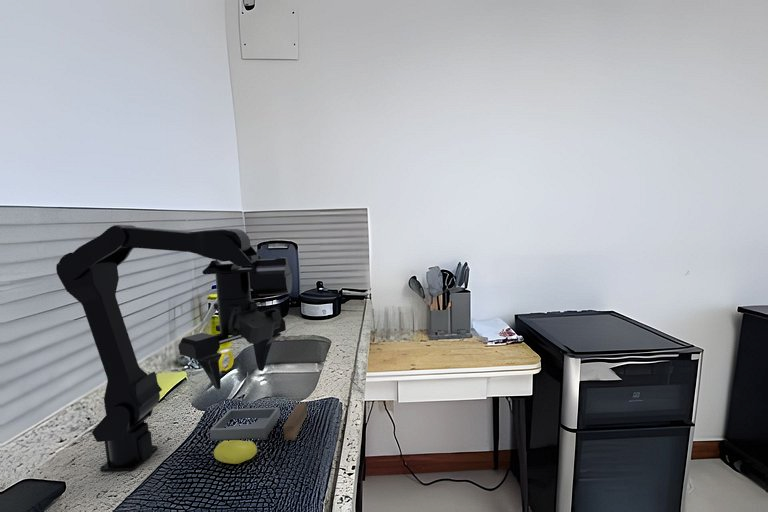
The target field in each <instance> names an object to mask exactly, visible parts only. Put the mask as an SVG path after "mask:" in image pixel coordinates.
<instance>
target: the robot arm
mask: <svg viewBox="0 0 768 512" xmlns="http://www.w3.org/2000/svg"><path fill="white" fill-rule="evenodd" d="M133 249H146V250H158V251H173V252H174V251H175V252H185V253H193V254H196V255H198V256H201V257H204V258H206V259H207V258H208V259H212V261H210V263H209V264H208V265H207V266H206V267H205V268H204V269H203V270H202V274H203V275H215V285H216V297H217V302H216V303H213V310H217V311H218V323H219V324H217V325H215V331H216V332H219V333H217V334H209V333H204V332H199V333H196V334H192V335H188V336H184V337H182V338H181V340H180V342H179V344H178V353H179V355H180V356H185V357H187V358H190V359H193V360H196V362H197V363H198V364H199V365H200V367H201V368H202V369H203V371H204V372H205V374H206V376H207V377H208V379H209V381H210V382H211V384H212V385H213V387H214V389H215V390H221V384H222V380H221V370H220V369H219V359H220V357H221V355H222V354H220V352H218V351H219V350H220V348H221V345H224V344H227V343H229V342H233V341H235V340H236V341H237V340H239V339H240V340H241V339H242V338H243V339H245V340H246V342H247V343H249V344H250V345H252V344H253V350H254V356H255V362H256V366H257V369H258V371H259V372H263V371H264V370H265V367H266V363H267V360H268V356H269V353H270V349H271V346H272V344H273V342H275V340H276V339H277V338H279V337H281V335H282V333H283V332H285V331H286V330H287V328H286V327H287V324H286V321H285V319H284V318H283V317H282V316H281V310H279V309H277V308H276V307H274V308H271V309H267V310H264V311H259V310H258V309H259V308H258V304H257V301H256V300H252V295H251V290H252V292H253V293H256V294H257V295H258V296H271V295H272V296H273V295H288V294H291V293H292V290H293V274H292V272H291V268H290V265H289V260H288V259H289V258H288V257H286V256H285V257H283V256H282V257H278V258H267V259H266V258H265V259H263V258H262V257H261V255H260V254H259V252H257V251H256V250H255V248H254V247H253V246H252V245H251V240H250V237H249V235H248V234H247V233H246V232H245V231H243V230H242V229H239V228H217V229H216V228H215V229H208V230H207V229H206V230H198V231H197V230H196V231H191V230H178V229H177V230H175V229H164V228H163V229H162V228H151V227H141V226H140V227H139V226H135V225H132V224H130V225H129V224H128V225H127V224H114V225H112V226H110V227H109V228H107V229H106V230H105V231H104V232H103V233H102V234H100V235H98V236H96V237H95V238H92V239H91V240H89V241H88V242H87V241H86V243H84V244H82V245H80V246H79V247H78V248H76V249H75V250H74V251H72V252H68V253H66V254H64V255H63V256H61V258H60V260H59V261H58V263H56V267H55V270H56V275H57V276H58V278H59V280H60V282H61V284H62V285H63V287H64V289H65V291H66V292H67V293H68V295H71V297H73V298H74V299H75V300H77V301H78V302H79V303H80V305H81V306H82V308H83V309H82V310H83V312H84V314H85V316H86V320H87V323H88V326H89V330H90V332H91V335H92V337H93V341H94V343H95V347H96V349H97V353H98V356H99V358H100V361H101V364H102V367H103V370H104V373H105V376H106V381H107V382H106V386H105V391H104V397H103V402H104V403H103V404H104V411H105V416H104V417H103V418H102V419H101V421H100V422H99V423H98V424H97V425H96V426H95V427H94V429H92V430H91V434H92V435H93V438H94V439H95V441H96V442H97V443H100V442H101V443H104V447H105V455H106V462H105V463H104V464H103V465H102V466H100V467H99V470H100V471H101V472H102V471H103V472H107V471H108V472H111V471H112V472H113V471H114V472H115V471H133V470H136V469H137V467H139V466H140V465H141V464H142V463H144V461H145V460H146V459H148V458H149V457H150V456H151V455H152V454H153V453H154V452H156V451H157V450H158V445H153V441H152V440H153V439H152V434H151V433H152V431H150V430H149V423H148V422H145V420H147V419H148V418H149V417H151V416H152V415H153V411H154V408H155V407H156V406H157V405H158V403H159V402H160V399H161V394H160V393H161V392H162V390H163V389H162V388H161V386H160V384H159V383H158V378H157V377H158V375H157V374H156V371H152V372H149V373H147V372H146V371H144V370H143V369H142V368H140V366H139V362H138V360H137V358H136V353H135V350H134V348H133V345H132V342H131V339H130V336H129V333H128V330H127V327H126V323H125V320H124V318H123V314H122V312H121V309H120V306H119V303H118V302H119V301H118V300H117V299H118V298H117V296H116V295H117V294H116V293H117V290H118V289H117V288H118V286H119V285H118V284H119V281H120V277H119V271H118V269H119V268H118V267H119V266H120V265H122V264H123V262H125V261H126V259H128V257H129V256H130V254H131V252H132V251H133ZM221 262H231V263H221ZM250 266H251V267H250Z"/></svg>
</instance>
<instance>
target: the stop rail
mask: <svg viewBox="0 0 768 512" xmlns="http://www.w3.org/2000/svg"><path fill="white" fill-rule="evenodd" d="M307 406H308V405H307V403H306V402H305V403H301V402H300V403H296V405H295V406H294V409H293V410H292V411H291V413H290V415H289V416H288V418H287V420H285V423H284V424H283V426H282V427H283V439H284V441H285V440H295V441H296V439H297V438H296V436H297V434H298V432H299V431H300V432H301V430H300V428H301V427H302V428H303V426H302V424H303V422H304V420H305V418H306V416H307V415H308V407H307ZM304 423H305V422H304ZM303 425H304V424H303ZM302 428H301V429H302ZM300 432H299V433H300ZM298 435H299V434H298ZM297 437H298V436H297ZM295 438H296V439H295Z"/></svg>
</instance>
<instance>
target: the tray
mask: <svg viewBox="0 0 768 512" xmlns="http://www.w3.org/2000/svg"><path fill="white" fill-rule="evenodd" d="M280 409H281V408H280V407H261V408H259V407H256V408H254V407H253V408H234V409H233V408H231V409H229V410H228V411H227V412H225V414H223V416H222V417H220V419H219V420H218V421H217V422H215V424H214V425H213V426H212V427H211V428H210V429H209V430H208V431H209V439H210V442H211V441H216V440H217V441H222V440H223V441H224V440H240V439H241V440H242V439H243V440H245V439H247V440H248V439H249V440H250V439H257V440H258V439H259V440H266V439H268V438H269V437H268V435H269V434H270V432H271V431H272V429H273V428H274V426H275V424H276V422H277V421H278V419H279V417H280V418H281V410H280ZM231 418H259V419H258V420H257V421H256V422H251V424H248V425H247V424H242V425H240V426H239V424H236V425H235V426H234V425H233V426H230V427H228V426H227V427H226V428H224V427H225V426H226V425H227V423H228V422H229V421H230V420H231ZM275 427H276V426H275ZM274 429H275V428H274ZM274 429H273V430H274ZM272 432H273V431H272ZM272 432H271V433H272ZM270 435H271V434H270ZM270 435H269V436H270ZM267 437H268V438H267ZM266 441H267V440H266Z"/></svg>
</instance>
